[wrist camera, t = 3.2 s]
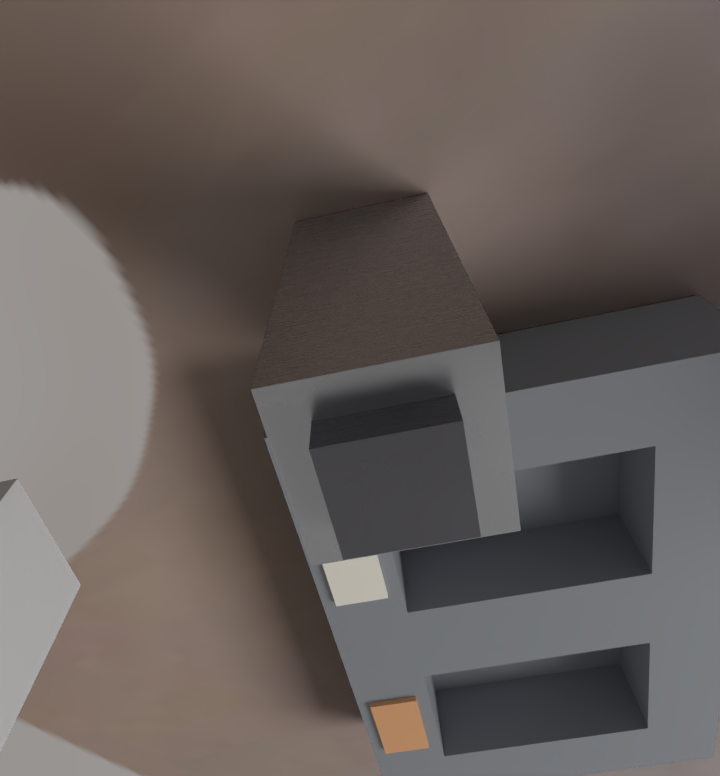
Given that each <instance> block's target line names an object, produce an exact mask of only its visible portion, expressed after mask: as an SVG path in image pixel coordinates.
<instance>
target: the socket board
mask: <svg viewBox="0 0 720 776" xmlns="http://www.w3.org/2000/svg"><path fill="white" fill-rule="evenodd" d="M497 337H498V339H499V341H500V349H501V358H502V367H503V376H504V385H505V394H506V403H507V412H508V420H509V429H510V438H511V447H512V456H513V465H514V474H515V483H516V492H517V500H518V509H519V518H520V527H521V531H516V532H510V533H504V534H498V535H492V536H486V537H481V538H475V539H469V540H463V541H457V542H451V543H445V544H439V545H433V546H427V547H421V548H415V549H410V550H404V551H398V552H392V553H386V554H380V555H374V556H368V557H362V558H356V559H350V560H344V561H338V562H333V563H327V564H321V565H315V566H312V565H311V562H310V559H309V556H308V553H307V550H306V547H305V544H304V541H303V539H302V536H301V533H300V530H299V527H298V524H297V521H296V518H295V516H294V513H293V510H292V507H291V504H290V501H289V498H288V495H287V493H286V490H285V487H284V484H283V481H282V478H281V475H280V472H279V470H278V467H277V464H276V461H275V458H274V455H273V452H272V449H271V447H270V444H269V441H268V438H267V435H266V432H265V437H264V439H265V442H266V445H267V448H268V451H269V454H270V456H271V459H272V462H273V465H274V468H275V471H276V474H277V476H278V479H279V482H280V485H281V488H282V491H283V493H284V496H285V499H286V502H287V505H288V508H289V511H290V513H291V516H292V519H293V522H294V525H295V528H296V531H297V533H298V536H299V539H300V542H301V545H302V548H303V550H304V553H305V556H306V559H307V562H308V565H309V568H310V570H311V573H312V576H313V579H314V582H315V585H316V587H317V590H318V593H319V596H320V599H321V602H322V605H323V607H324V610H325V613H326V616H327V619H328V622H329V625H330V627H331V630H332V633H333V636H334V639H335V642H336V644H337V647H338V650H339V653H340V656H341V659H342V662H343V664H344V667H345V670H346V673H347V676H348V679H349V682H350V684H351V687H352V690H353V693H354V696H355V699H356V701H357V704H358V707H359V710H360V713H361V716H362V719H363V721H364V724H365V727H366V730H367V733H368V736H369V739H370V741H371V744H372V747H373V750H374V753H375V756H376V758H377V761H378V764H379V767H380V770H381V773H382V776H576V775H583V774H591V773H598V772H606V771H613V770H621V769H628V768H636V767H644V766H651V765H659V764H666V763H674V762H681V761H689V760H696V759H704V758H711V757H714V750H715V741H716V733H717V725H718V717H719V708H720V311H719V310H718V309H717V308H715V307H714V306H713V305H711V304H710V303H709V302H708V301H706V300H705V299H704V298H702V297H701V296H700V295H697V296H692V297H687V298H682V299H676V300H671V301H666V302H661V303H656V304H651V305H646V306H641V307H636V308H631V309H626V310H621V311H616V312H610V313H605V314H600V315H595V316H590V317H585V318H580V319H575V320H570V321H565V322H560V323H555V324H550V325H544V326H539V327H534V328H529V329H524V330H519V331H514V332H509V333H504V334H499V335H497Z"/></svg>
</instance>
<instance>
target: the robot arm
mask: <svg viewBox="0 0 720 776" xmlns="http://www.w3.org/2000/svg"><path fill="white" fill-rule="evenodd" d="M80 586H81V585H80V583H79V581H78V580H77V578H76V576H75V574H74V573H73V571H72V569H71V568H70V566H69V564H68V563H67V561H66V559H65V558H64V556H63V555H62V553H61V551H60V549H59V548H58V546H57V544H56V543H55V541H54V539H53V538H52V536H51V534H50V533H49V531H48V529H47V528H46V526H45V524H44V523H43V521H42V520H41V518H40V516H39V514H38V513H37V511H36V509H35V508H34V506H33V504H32V503H31V501H30V499H29V498H28V496H27V494H26V493H25V491H24V489H23V488H22V486H21V484H20V483H19V481H18V479H13V480H8V481H3V482H0V752H1V750H2V748H3V745H4V743H5V741H6V739H7V737H8V735H9V733H10V731H11V729H12V727H13V725H14V723H15V721H16V719H17V716H18V714H19V712H20V710H21V708H22V706H23V704H24V702H25V700H26V698H27V696H28V694H29V692H30V689H31V687H32V685H33V683H34V681H35V679H36V677H37V675H38V673H39V671H40V669H41V667H42V665H43V662H44V660H45V658H46V656H47V654H48V652H49V650H50V648H51V646H52V644H53V642H54V640H55V638H56V635H57V633H58V631H59V629H60V627H61V625H62V623H63V621H64V619H65V617H66V615H67V613H68V611H69V609H70V606H71V604H72V602H73V600H74V598H75V596H76V594H77V592H78V590H79V588H80Z"/></svg>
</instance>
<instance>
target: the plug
mask: <svg viewBox="0 0 720 776" xmlns="http://www.w3.org/2000/svg"><path fill="white" fill-rule="evenodd" d="M251 392H252V395H253V398H254V401H255V403H256V406H257V409H258V412H259V415H260V418H261V421H262V424H263V426H264V429H265V432H266V435H267V438H268V441H269V444H270V447H271V449H272V452H273V455H274V458H275V461H276V464H277V467H278V470H279V472H280V475H281V478H282V481H283V484H284V487H285V490H286V493H287V495H288V498H289V501H290V504H291V507H292V510H293V513H294V516H295V518H296V521H297V524H298V527H299V530H300V533H301V536H302V539H303V541H304V544H305V547H306V550H307V553H308V556H309V559H310V562H311V565H312V566H315V565H321V564H327V563H333V562H338V561H344V560H350V559H356V558H362V557H368V556H374V555H380V554H386V553H392V552H398V551H404V550H410V549H415V548H421V547H427V546H433V545H439V544H445V543H451V542H457V541H463V540H469V539H475V538H481V537H486V536H492V535H498V534H504V533H510V532H516V531H521V527H520V518H519V509H518V500H517V492H516V483H515V474H514V465H513V456H512V447H511V438H510V429H509V420H508V412H507V403H506V394H505V385H504V376H503V367H502V358H501V349H500V341H499V339H498V337H497V334H496V332H495V330H494V328H493V326H492V324H491V322H490V320H489V318H488V316H487V314H486V312H485V310H484V308H483V306H482V304H481V302H480V299H479V297H478V295H477V293H476V291H475V289H474V287H473V285H472V283H471V281H470V279H469V277H468V275H467V273H466V271H465V269H464V267H463V264H462V262H461V260H460V258H459V256H458V254H457V252H456V250H455V248H454V246H453V244H452V242H451V240H450V238H449V236H448V234H447V232H446V229H445V227H444V225H443V223H442V221H441V219H440V217H439V215H438V213H437V211H436V209H435V207H434V205H433V203H432V201H431V199H430V197H429V195H428V193H425V194H421V195H416V196H412V197H407V198H402V199H398V200H393V201H389V202H384V203H380V204H375V205H371V206H366V207H361V208H357V209H352V210H348V211H343V212H339V213H334V214H330V215H325V216H320V217H316V218H311V219H307V220H302V221H298V222H295V225H294V229H293V233H292V237H291V240H290V244H289V248H288V252H287V255H286V259H285V263H284V267H283V270H282V274H281V278H280V282H279V285H278V289H277V293H276V297H275V300H274V304H273V308H272V312H271V315H270V319H269V323H268V327H267V330H266V334H265V338H264V342H263V345H262V349H261V353H260V357H259V360H258V364H257V368H256V372H255V375H254V379H253V383H252V387H251Z"/></svg>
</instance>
